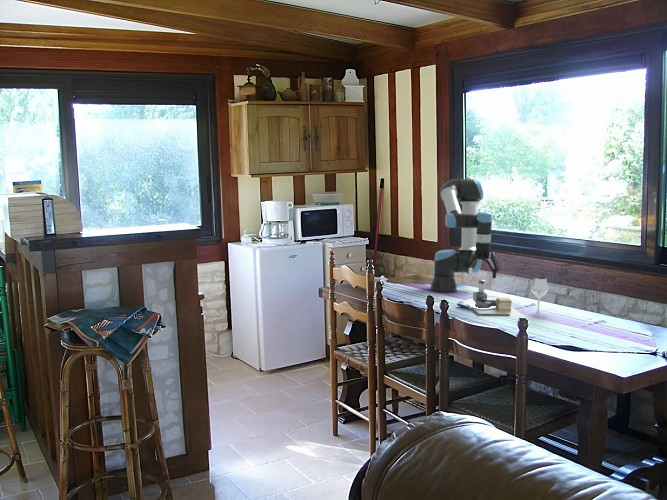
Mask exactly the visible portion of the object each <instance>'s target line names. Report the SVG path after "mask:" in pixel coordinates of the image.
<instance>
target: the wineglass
mask: <svg viewBox="0 0 667 500" xmlns="http://www.w3.org/2000/svg"><path fill="white" fill-rule="evenodd" d="M530 291H531V293H532V294H533V295H534V296H535V297H536V298H537V310H536V313H538V314H539V313H541V311H540V300H541V298H543V297H544V296H545V295H547V293H548V291H549V285H548V281H547V278H546V277H545V276H544V277H543V276H535V277H533V280H532V283H531V286H530Z"/></svg>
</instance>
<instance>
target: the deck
mask: <svg viewBox="0 0 667 500" xmlns="http://www.w3.org/2000/svg"><path fill="white" fill-rule="evenodd" d="M468 308H469V309H470V310H471V311H472V312H473V313H474V314H475V315H476V317H504V318H505V317H509V318H510V317H511V318H512V317H514V318H515V317H517V318H519V317H520V318H523V317H525V315H523V314H522V313H520V311H518V310H516V308H514V307H513V306H512V305H511V312H499V311H498V310H497V309H494V310H479V309H475V308H473V307H469V306H468Z"/></svg>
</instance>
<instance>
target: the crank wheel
mask: <svg viewBox="0 0 667 500" xmlns="http://www.w3.org/2000/svg"><path fill="white" fill-rule="evenodd" d="M472 300H473V301H474V302H475V303H476V304H475V306H476V307H478V308H489V307H491V306H496V299H488V294H487V292H485V291H484V294H478V291H473V293H472Z"/></svg>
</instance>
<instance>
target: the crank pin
mask: <svg viewBox="0 0 667 500" xmlns="http://www.w3.org/2000/svg"><path fill="white" fill-rule="evenodd" d="M485 285H486V280H485V279H478V291H477V292H478V294H484V292H485V287H486V286H485Z"/></svg>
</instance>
